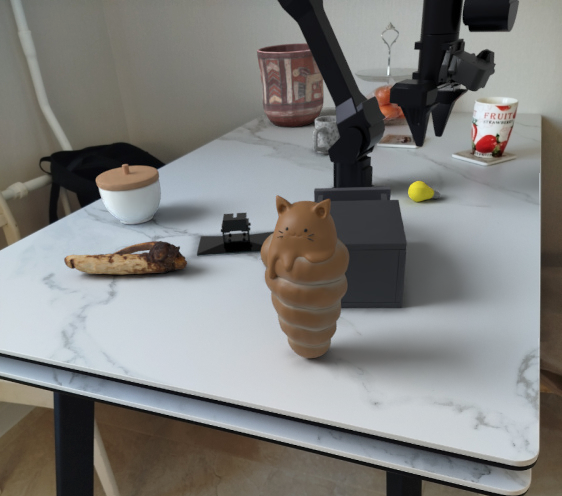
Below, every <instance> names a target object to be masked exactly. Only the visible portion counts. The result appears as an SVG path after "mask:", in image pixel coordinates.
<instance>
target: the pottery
mask: <svg viewBox="0 0 562 496" xmlns="http://www.w3.org/2000/svg"><path fill="white" fill-rule="evenodd" d="M256 56H257V57H256V58H257V62H258V67H259V74H260V75H259V76H260V82H261V96H262V97H261V98H262V108H263V111H264V114H265V116H266V117H267V119H268V120H269V121H270V122H271V123H272V124H273V125H274V126H277V127H281V128H282V127H283V128H284V127H285V128H295V127H302V126H308V125H310V124H312V123H315V119H316V118H318V117H320V114H321V111H322V110H323V107H324V102H325V101H324V99H325V97H324V95H325V94H324V80H323V78H322V75H321V73H320V71H319V69H318V67H317V64H316V62H315V60H314V58H313V56H312V53H311V51H310V49H309V47H308V45H307V42H305V43H304V42H303V43H284V44H275V45H268V46H264V47H260V48H258V49H257V50H256Z"/></svg>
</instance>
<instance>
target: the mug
mask: <svg viewBox="0 0 562 496" xmlns="http://www.w3.org/2000/svg"><path fill="white" fill-rule="evenodd" d="M311 137H312V142H311V143H312V150H313V152H315V153H318V154H324V155H329V154H328V150H329V148H330V147H331V146H332V145H333V144H334V143H335V142H336V141H337V140H338V139H339V138H340V136H339V133H338V129H337V126H336V115H322V116H318V117H317V118H316V119H315V121H314V129H313V131H312V136H311Z"/></svg>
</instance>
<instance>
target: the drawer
mask: <svg viewBox="0 0 562 496" xmlns="http://www.w3.org/2000/svg"><path fill="white" fill-rule="evenodd" d="M391 195H392V188H391V186H374V187H354V188H333V187H319V188H317V187H316V188H314V190H313V199H314V201H324V200H326V199H330V200H331V201H360V200H391ZM314 201H313V202H314Z"/></svg>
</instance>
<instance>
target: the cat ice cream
mask: <svg viewBox="0 0 562 496" xmlns="http://www.w3.org/2000/svg"><path fill="white" fill-rule="evenodd" d="M275 207H276V212H277V214H278V216H277V217H278V218H277V221H276V224H275V227H274V230H273V232H274V233H273V234H271V235H270V236H269V237H268V238H267V239H266V240H265V241H264V243H263V245H262V248H261V252H260V259H261V262H262V264H263V266H264V268H265V271H264V281H265V285H266V287H267V288H268V290H269V291H270V297H271V298H270V300H271V303H272V306H273V308H274V310H275V312H276V314H277V320H278V324H279V327H280V329H281V331H282V332H283V333H284V334H285V336H286V339H287V343H288V345H289V347H290V349H291V350H292V351H293V352H294V353H295V354H297V355H298V356H299V357H301V358H305V359H315V358H319V357H321V356H323V355H324V354H326V353H327V352H328V351H329V349H330V347H331V344H332V338H333V337H334V335H335V334H336V331H337V327H338V326H337V325H338V324H337V321H338V320H339V319H340V317H341V313H342V308H341V298H342V297H343V296H344V295H345V293H346V291H347V279H346V276H345V272H346V270H347V267H348V264H349V252H348V249H347V247H346V246H345V245H344V244H343V243H342V242H341V241H340V240H339V238H337V232H336V228H335V224H334V221H333V218H332V216H331V215H330V207H331V200H330V199H326V200H324V201H321V202H320V203H316V202H314V201H313V200H300V201H295V202H293V203H291V202H290V201H289V200H287V199H286V198H284V197H282V196H281V195H276V196H275Z"/></svg>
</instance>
